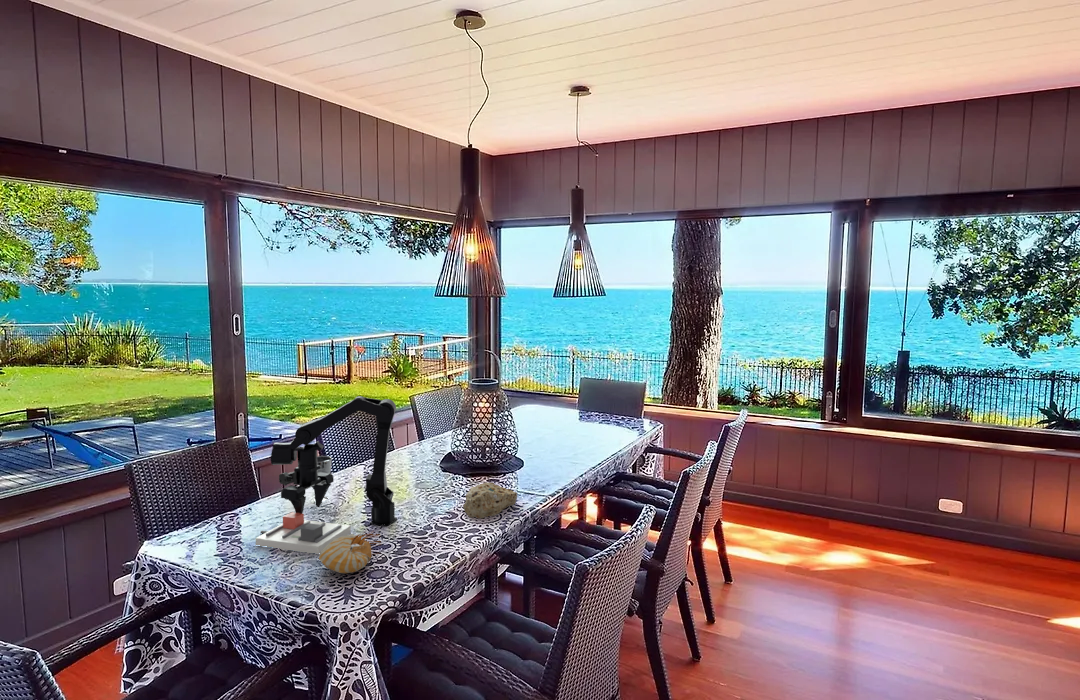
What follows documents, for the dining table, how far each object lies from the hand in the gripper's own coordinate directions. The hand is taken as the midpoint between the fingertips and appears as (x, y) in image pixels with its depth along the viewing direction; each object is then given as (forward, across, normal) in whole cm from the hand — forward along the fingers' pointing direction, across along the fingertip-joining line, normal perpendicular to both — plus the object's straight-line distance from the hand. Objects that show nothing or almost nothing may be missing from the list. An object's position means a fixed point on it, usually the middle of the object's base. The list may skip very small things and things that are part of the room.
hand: (308, 511), depth 188 cm
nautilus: (+5, +20, +30) cm, 36 cm away
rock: (+5, -30, +50) cm, 58 cm away
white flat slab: (+4, +10, +3) cm, 11 cm away
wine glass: (+5, -21, -11) cm, 24 cm away
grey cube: (+2, +14, +11) cm, 18 cm away
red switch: (+2, +8, 0) cm, 8 cm away
